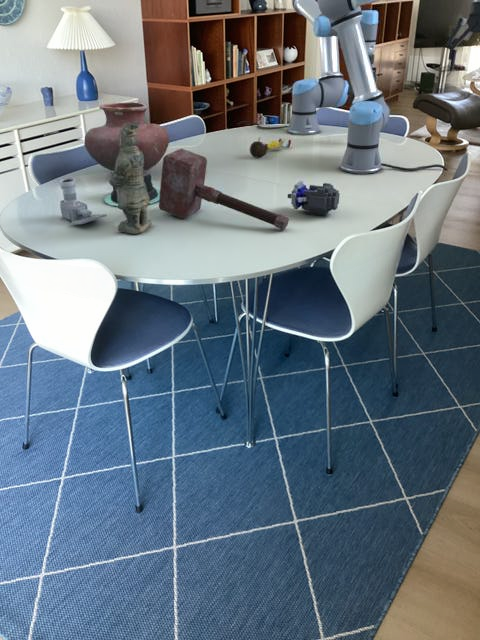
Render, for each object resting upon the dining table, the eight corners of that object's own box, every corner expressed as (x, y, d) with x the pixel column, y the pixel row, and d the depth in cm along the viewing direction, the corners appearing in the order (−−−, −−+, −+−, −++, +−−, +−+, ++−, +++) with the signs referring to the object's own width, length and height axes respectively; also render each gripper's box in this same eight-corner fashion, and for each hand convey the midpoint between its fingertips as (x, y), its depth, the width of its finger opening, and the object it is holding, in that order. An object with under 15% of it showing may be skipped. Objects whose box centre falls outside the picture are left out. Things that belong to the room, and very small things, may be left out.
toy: (295, 178, 172) (342, 184, 166) (295, 205, 177) (340, 211, 171) (285, 186, 166) (333, 192, 160) (284, 213, 170) (331, 220, 164)
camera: (73, 174, 169) (102, 184, 161) (79, 211, 176) (108, 223, 167) (48, 181, 164) (77, 191, 155) (55, 219, 170) (83, 231, 161)
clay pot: (179, 163, 223) (174, 97, 211) (157, 185, 198) (150, 112, 185) (108, 161, 228) (99, 97, 216) (77, 183, 203) (65, 111, 190)
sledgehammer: (299, 190, 156) (179, 147, 167) (285, 200, 148) (161, 154, 160) (286, 244, 166) (174, 200, 177) (272, 256, 158) (156, 209, 170)
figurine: (298, 136, 240) (268, 140, 221) (297, 154, 243) (267, 160, 224) (272, 133, 246) (241, 137, 227) (271, 151, 249) (240, 156, 230)
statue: (131, 220, 168) (117, 116, 152) (158, 224, 164) (147, 118, 149) (109, 233, 159) (93, 124, 144) (138, 237, 156) (124, 126, 140)
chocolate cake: (91, 202, 180) (113, 186, 197) (142, 231, 182) (160, 212, 199) (107, 162, 172) (129, 148, 190) (160, 192, 174) (177, 176, 192)
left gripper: (355, 56, 218) (350, 116, 230) (389, 52, 230) (382, 109, 242) (340, 55, 223) (336, 113, 235) (374, 50, 235) (369, 107, 247)
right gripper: (526, 0, 180) (511, 71, 191) (448, 1, 192) (438, 68, 202) (522, 0, 175) (507, 73, 185) (442, 1, 186) (432, 70, 197)
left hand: (360, 111), depth 238 cm, fingers closed on canister, 9 cm apart
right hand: (471, 71), depth 194 cm, fingers open, 13 cm apart
